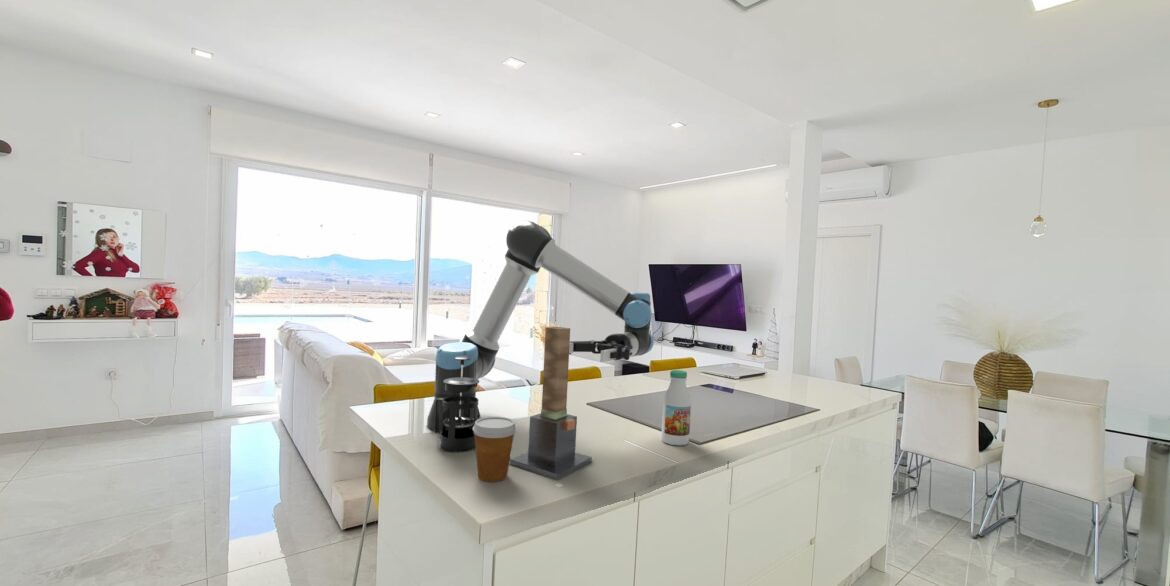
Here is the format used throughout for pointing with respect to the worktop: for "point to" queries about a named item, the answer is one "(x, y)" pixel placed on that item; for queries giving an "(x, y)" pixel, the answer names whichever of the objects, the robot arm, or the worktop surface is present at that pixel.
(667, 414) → the milk bottle
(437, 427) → the french press
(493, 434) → the disposable coffee cup
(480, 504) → the worktop surface
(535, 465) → the stand
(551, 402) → the post
